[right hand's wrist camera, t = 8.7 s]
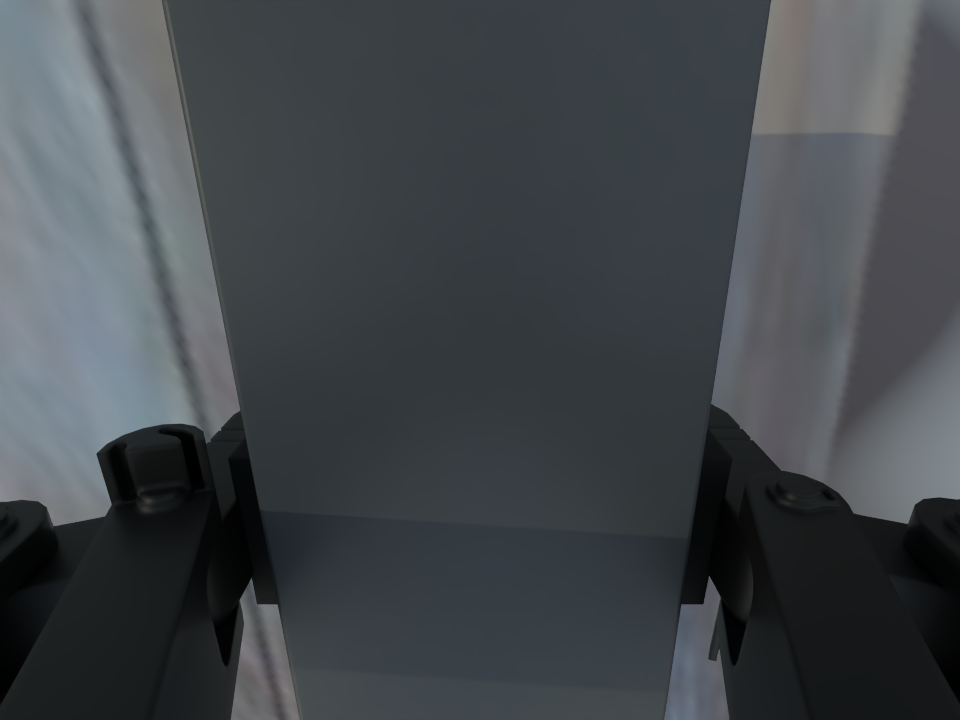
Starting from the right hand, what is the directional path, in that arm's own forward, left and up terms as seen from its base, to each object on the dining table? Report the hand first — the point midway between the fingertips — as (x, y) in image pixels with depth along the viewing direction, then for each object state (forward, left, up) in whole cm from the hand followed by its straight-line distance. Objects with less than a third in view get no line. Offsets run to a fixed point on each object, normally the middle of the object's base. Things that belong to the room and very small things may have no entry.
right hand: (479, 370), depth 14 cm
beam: (+14, +25, -1) cm, 28 cm away
